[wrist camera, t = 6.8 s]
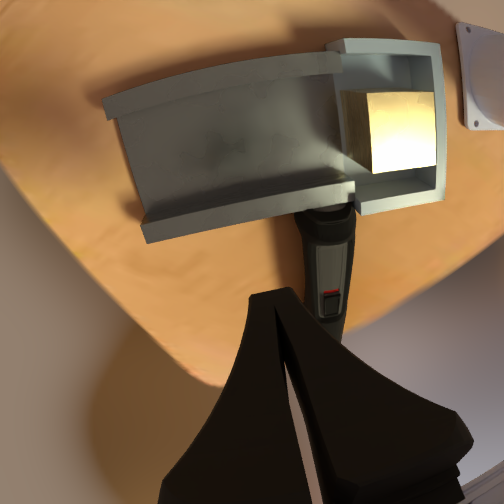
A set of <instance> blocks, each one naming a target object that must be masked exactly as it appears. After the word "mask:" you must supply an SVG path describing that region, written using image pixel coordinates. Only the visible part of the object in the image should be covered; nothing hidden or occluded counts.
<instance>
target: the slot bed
mask: <svg viewBox="0 0 504 504" xmlns="http://www.w3.org/2000/svg"><path fill="white" fill-rule="evenodd" d="M333 73H343V68H342V61H341V55H340V51H325V52H310V53H298V54H288V55H280V56H272V57H264V58H257V59H251V60H245V61H239V62H233V63H228V64H223V65H218V66H213V67H208V68H204V69H199V70H195V71H191V72H187V73H183V74H179V75H175V76H171V77H168V78H164V79H161V80H157V81H154V82H151V83H147V84H144V85H141V86H138V87H135V88H132V89H129V90H126V91H123V92H120V93H117V94H114V95H111V96H109V97H106V98H103V99H102V102H103V106H104V110H105V114H106V118H107V121H108V120H111V119H114V118H117V121H118V124H119V128H120V132H121V135H122V139H123V143H124V146H125V150H126V153H127V156H128V160H129V163H130V166H131V170H132V173H133V176H134V179H135V183H136V186H137V189H138V192H139V195H140V198H141V201H142V204H143V207H144V210H145V213H146V214H145V216H144V218H143V220H142V223H141V225H140V227H141V229H142V232H143V235H144V238H145V240H146V243H147V244H150V243H154V242H158V241H163V240H167V239H172V238H176V237H180V236H185V235H189V234H194V233H198V232H203V231H207V230H212V229H216V228H221V227H226V226H230V225H235V224H240V223H245V222H249V221H254V220H259V219H264V218H269V217H274V216H278V215H283V214H288V213H293V212H298V211H304V210H306V209H314V208H319V207H324V206H329V205H335V204H340V203H345V202H351V201H355V181H354V180H353V179H352V178H350V177H349V176H348V175H346V174H345V173H344V165H343V153H342V143H341V133H340V124H339V116H338V108H337V100H336V93H335V86H334V79H333Z"/></svg>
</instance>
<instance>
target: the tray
mask: <svg viewBox="0 0 504 504" xmlns="http://www.w3.org/2000/svg"><path fill="white" fill-rule="evenodd" d="M325 49H326V51H340V55H341V61H342V68H343V73H333V79H334V86H335V93H336V100H337V108H338V116H339V124H340V133H341V143H342V153H343V165H344V173H345V174H346V175H348V176H349V177H350V178H352V179H353V180H354V181H355V201H352V206H353V208H354V209H355V210H356V211H357V212H358V213H359V214H360V215H361V216H363V215H368V214H373V213H378V212H383V211H388V210H393V209H399V208H404V207H409V206H414V205H419V204H425V203H430V202H435V201H441V200H444V199H445V184H446V160H447V123H446V100H445V86H444V75H443V65H442V57H441V49H440V44H438V43H431V42H422V41H411V40H398V39H378V38H343V39H339V40H336V41H333V42H330V43H327V44H325ZM398 87H400V88H408V89H416V90H423V91H429V92H434V106H435V131H436V165H431V166H423V167H416V168H408V169H401V170H394V171H387V172H380V173H371V172H370V171H368V170H367V169H365V168H364V167H362V166H361V165H359V164H358V163H356V162H355V161H353V160H352V159H350V158H348V157H347V150H346V139H345V130H344V121H343V112H342V104H341V96H340V90H349V89H366V88H398Z"/></svg>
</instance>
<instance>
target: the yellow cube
mask: <svg viewBox="0 0 504 504" xmlns="http://www.w3.org/2000/svg"><path fill="white" fill-rule="evenodd" d="M340 96H341V104H342V112H343V121H344V130H345V139H346V150H347V157H348V158H350V159H352V160H353V161H355V162H356V163H358V164H359V165H361V166H362V167H364V168H365V169H367V170H368V171H370V172H371V173H380V172H387V171H394V170H401V169H408V168H416V167H423V166H431V165H436V131H435V106H434V92H429V91H423V90H416V89H408V88H400V87H398V88H366V89H349V90H340Z"/></svg>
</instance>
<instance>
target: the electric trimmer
mask: <svg viewBox="0 0 504 504" xmlns="http://www.w3.org/2000/svg"><path fill="white" fill-rule="evenodd" d="M294 218H295V222H296V224H297V227H298V229H299V231H300V234H301V236H302V244H303V255H304V266H305V302H304V303H303V304H304V306H305V307H306V308H307V309H308V310H309V312H310V313H311V314H312V315H313V316H314V317H315V318H316V319H317V320H318V321H319V322H320V324H321V325H322V326H323V327H324V328H325V329H326V330H327V331H328V332H329V333H330V334H331V335H332V336H333V337H335V338H336V339H337V340H338V341H339V342H340V343H341V339H342V334H343V328H344V323H345V317H346V311H347V300H348V294H349V287H350V280H351V273H352V265H353V257H354V247H355V228H356V212H355V209H354V208H353V206H352V201H351V202H345V203H340V204H335V205H329V206H324V207H319V208H314V209H306V210H304V211H298V212H294Z"/></svg>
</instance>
